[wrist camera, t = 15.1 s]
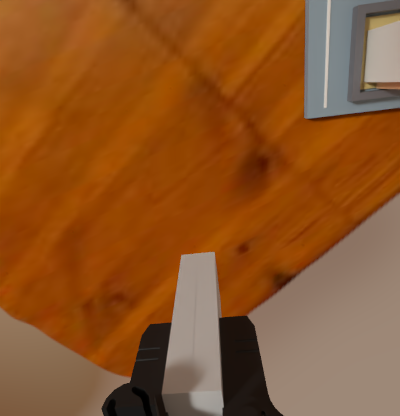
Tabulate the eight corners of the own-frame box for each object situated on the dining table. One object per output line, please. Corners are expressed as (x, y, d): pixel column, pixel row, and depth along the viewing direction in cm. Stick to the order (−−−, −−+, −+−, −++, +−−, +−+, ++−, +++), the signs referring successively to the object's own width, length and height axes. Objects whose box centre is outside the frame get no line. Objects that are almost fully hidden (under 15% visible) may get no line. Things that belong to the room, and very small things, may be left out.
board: (305, -23, 31) (313, -31, 29) (437, -42, 30) (455, -52, 28) (304, 117, 36) (310, 119, 34) (415, 104, 35) (429, 105, 33)
